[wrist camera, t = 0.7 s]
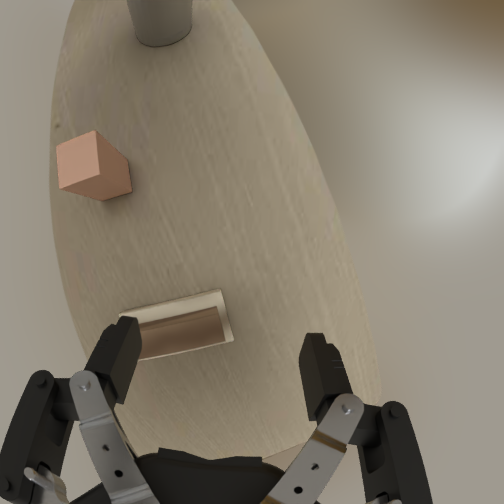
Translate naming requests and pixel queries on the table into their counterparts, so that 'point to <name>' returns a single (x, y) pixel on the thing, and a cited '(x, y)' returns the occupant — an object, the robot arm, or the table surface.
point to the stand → (182, 324)
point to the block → (92, 167)
